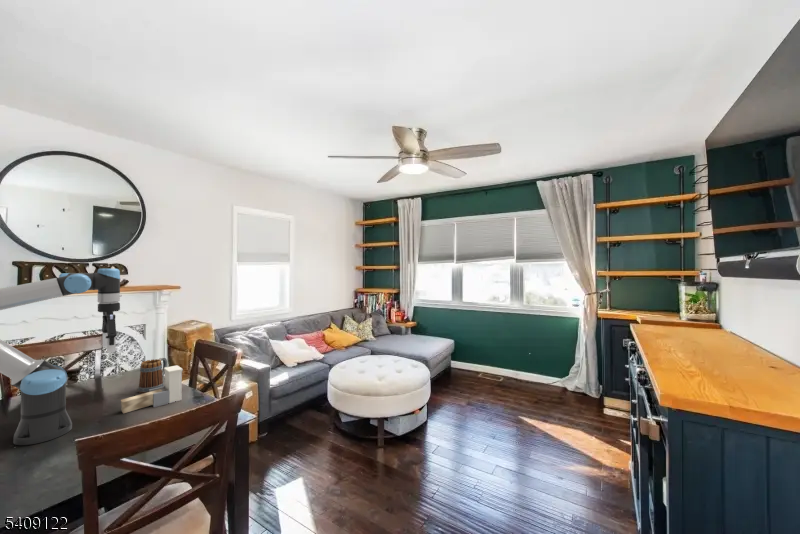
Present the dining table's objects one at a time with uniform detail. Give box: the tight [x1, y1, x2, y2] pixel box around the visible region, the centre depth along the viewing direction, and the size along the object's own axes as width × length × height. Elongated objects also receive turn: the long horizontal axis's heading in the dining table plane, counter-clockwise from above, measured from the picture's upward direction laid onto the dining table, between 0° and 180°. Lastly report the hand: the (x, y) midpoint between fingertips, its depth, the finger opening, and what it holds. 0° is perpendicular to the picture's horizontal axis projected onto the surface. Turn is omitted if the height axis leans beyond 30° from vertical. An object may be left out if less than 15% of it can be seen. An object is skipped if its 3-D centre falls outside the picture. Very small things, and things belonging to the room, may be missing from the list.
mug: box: [137, 357, 168, 394], centre depth 172 cm, size 16×11×15 cm
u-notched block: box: [149, 365, 184, 408], centre depth 157 cm, size 11×9×15 cm
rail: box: [120, 388, 166, 414], centre depth 150 cm, size 16×4×5 cm, turn 139°
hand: (108, 349), depth 148 cm, fingers open, 13 cm apart
